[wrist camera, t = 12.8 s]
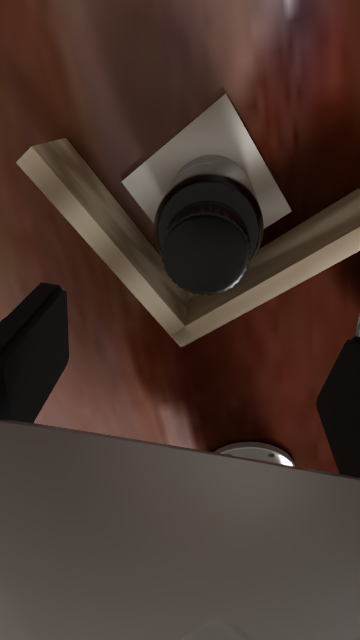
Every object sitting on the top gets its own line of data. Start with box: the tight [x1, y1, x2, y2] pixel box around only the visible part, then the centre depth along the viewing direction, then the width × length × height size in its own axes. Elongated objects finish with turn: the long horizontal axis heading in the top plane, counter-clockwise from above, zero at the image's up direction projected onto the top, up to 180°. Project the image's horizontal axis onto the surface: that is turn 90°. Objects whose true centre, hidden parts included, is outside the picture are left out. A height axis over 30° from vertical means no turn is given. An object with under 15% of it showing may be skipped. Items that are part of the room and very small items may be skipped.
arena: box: [16, 93, 360, 347], centre depth 25 cm, size 18×18×6 cm
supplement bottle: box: [154, 155, 264, 295], centre depth 23 cm, size 7×7×12 cm
